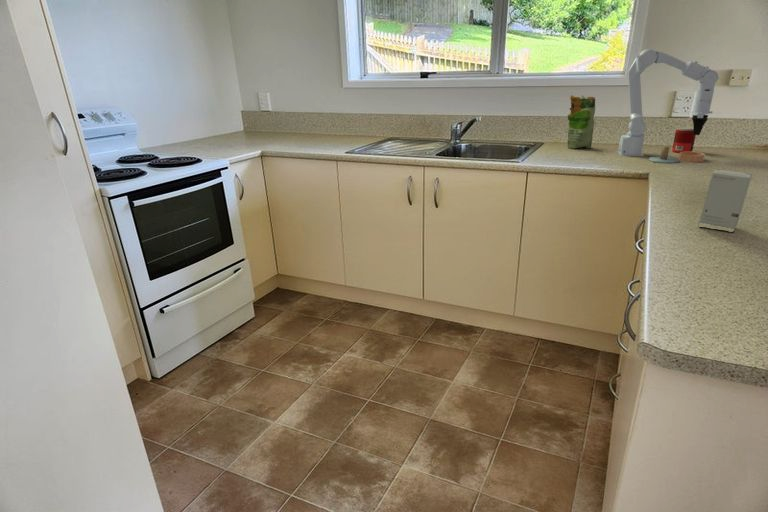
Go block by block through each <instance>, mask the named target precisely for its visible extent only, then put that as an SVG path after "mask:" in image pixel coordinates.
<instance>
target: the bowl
mask: <svg viewBox="0 0 768 512" xmlns="http://www.w3.org/2000/svg"><path fill="white" fill-rule="evenodd" d="M705 156H706V153H703V152H699V151H692V152H680V153H678V157H677V159H679V161H680V162H681V161H682V162H688V163H701V162H704V160H705Z"/></svg>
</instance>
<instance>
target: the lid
mask: <svg viewBox="0 0 768 512" xmlns="http://www.w3.org/2000/svg"><path fill="white" fill-rule="evenodd" d="M669 151H670V147H669V146H662V148H661V152H660V156H651V157H648V158H649V159H648V161H649V162H652V163H653V162H658V163H657V164H677V163H676V162H680V160H679V159H678V157H670V156H669Z"/></svg>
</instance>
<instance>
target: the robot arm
mask: <svg viewBox="0 0 768 512" xmlns="http://www.w3.org/2000/svg"><path fill="white" fill-rule="evenodd" d="M662 63H663V64H665V65H668V66H670V67H672V68H675V69H678V70H680V71H681V74H682V76H685V77H687V78H689V79H692V80H694V81H696V82H699V84H698V88H697V92H696V97H695V100H694V101H695V102H694V107H693V111H692V114H693V115H692V118H691V120H692V123H693V125H692V126H693V127H694V130H693V133H694V135H696V136H700V134H701V133H702V130H703V128H704V125H705V124H706V122H708V120H709V118H708V117H709V114H713V111H711V107H712V106H711V105H712V101H713V96H714V93H715V87H716V86H715V85H716V83H717V82H718V81H719V78H720V77H719V73H718V72H717V71H716V70H714V69H711V68H710V67H709V66H704V65H701V64H700V63H699V62H698V61H697V60H694V61H692V60H690V61H687V62H685V61H683V60H681V59H679V58H677V57H674V56H672V55H670V54H668V53H665V52H662V51H658V50H654V49H653V48H652V49H648V48H647V49H643V50H642V51H640V53H638V54H637V55H636V57H635V59H634V61H633V62H632V64H631V66H630V67H629V69H628V70H627V71H628V72H627V77H628V79H627V80H628V97H629V113H630V114H629V122H628V125H627V126H628V127H627V128H628V130H629V131H628V132H626V134H623V135H621V136H620V139H619V144H618V151H617V153H618V155H620V156H621V157H645V154H643V147H644V141H645V131H646V129H647V127H646V126H647V125H646V123H645V122H644V116H643V106H642V105H643V104H642V86H641V85H642V83H641V74H643V73H644V72H645V70H646V69H647V68H649V67H651V66H652V65H653V64H662Z"/></svg>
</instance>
